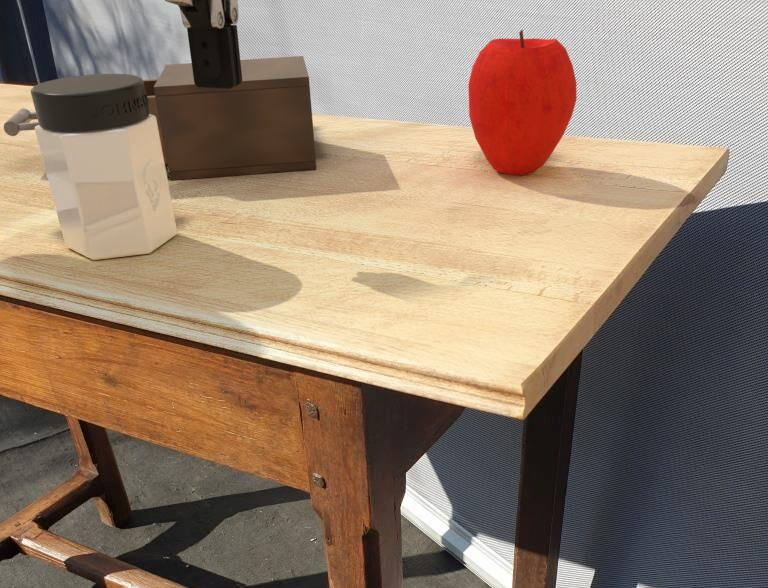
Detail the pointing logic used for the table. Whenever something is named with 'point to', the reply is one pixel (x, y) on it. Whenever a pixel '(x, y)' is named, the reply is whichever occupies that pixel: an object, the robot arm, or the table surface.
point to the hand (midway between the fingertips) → (218, 85)
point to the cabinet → (237, 121)
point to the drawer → (25, 116)
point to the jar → (104, 164)
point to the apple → (521, 101)
